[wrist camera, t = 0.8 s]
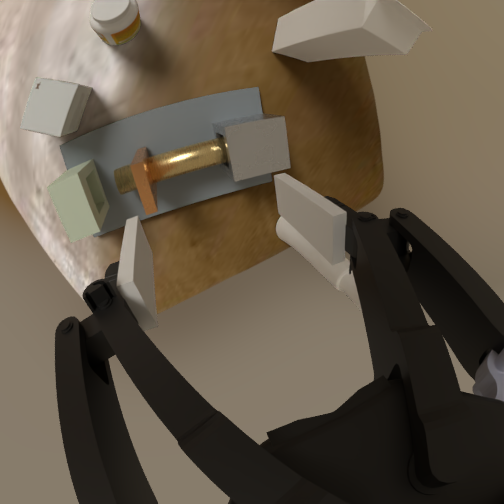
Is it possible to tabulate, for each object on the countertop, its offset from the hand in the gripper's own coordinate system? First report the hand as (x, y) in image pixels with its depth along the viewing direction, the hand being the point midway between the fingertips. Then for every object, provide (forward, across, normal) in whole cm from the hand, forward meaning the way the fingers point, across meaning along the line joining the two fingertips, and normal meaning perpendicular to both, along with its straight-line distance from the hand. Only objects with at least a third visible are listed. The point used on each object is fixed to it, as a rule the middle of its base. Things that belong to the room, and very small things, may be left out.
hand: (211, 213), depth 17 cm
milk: (+22, +19, +14) cm, 32 cm away
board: (+21, -2, 0) cm, 21 cm away
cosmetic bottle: (+22, +15, -16) cm, 31 cm away
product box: (+22, -13, +12) cm, 28 cm away
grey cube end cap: (+20, +8, 0) cm, 22 cm away
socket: (+20, -13, 0) cm, 24 cm away
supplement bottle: (+22, -4, +20) cm, 30 cm away
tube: (+20, +2, 0) cm, 20 cm away
